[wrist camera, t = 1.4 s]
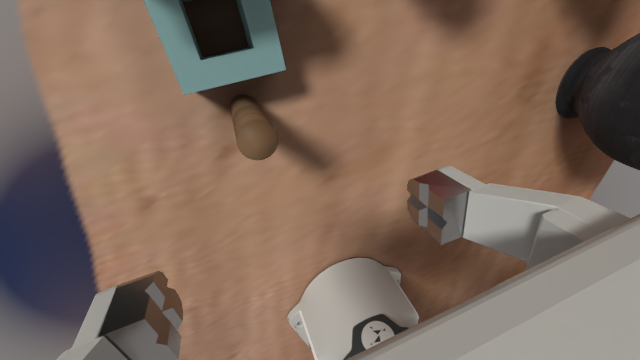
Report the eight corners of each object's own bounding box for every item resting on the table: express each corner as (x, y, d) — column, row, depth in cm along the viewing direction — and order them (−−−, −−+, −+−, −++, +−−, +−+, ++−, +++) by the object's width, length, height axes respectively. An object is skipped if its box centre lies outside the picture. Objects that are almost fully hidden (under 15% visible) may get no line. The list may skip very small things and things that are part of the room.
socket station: (287, 63, 26) (316, 73, 18) (176, 90, 24) (158, 113, 16) (259, -60, 21) (283, -117, 14) (120, -40, 19) (57, -93, 12)
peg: (261, 118, 27) (282, 153, 19) (235, 125, 27) (244, 165, 18) (253, 91, 26) (272, 116, 17) (226, 98, 25) (231, 128, 17)
